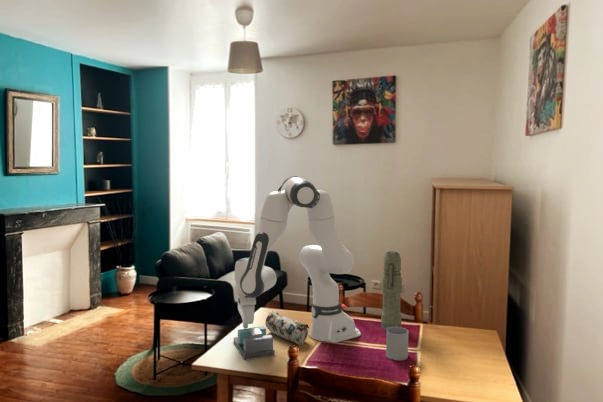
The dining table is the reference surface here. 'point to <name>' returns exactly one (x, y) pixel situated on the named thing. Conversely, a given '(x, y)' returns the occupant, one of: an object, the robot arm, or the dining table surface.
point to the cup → (397, 343)
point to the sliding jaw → (244, 333)
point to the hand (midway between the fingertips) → (245, 327)
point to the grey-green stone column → (391, 291)
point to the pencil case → (287, 328)
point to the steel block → (254, 333)
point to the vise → (256, 347)
